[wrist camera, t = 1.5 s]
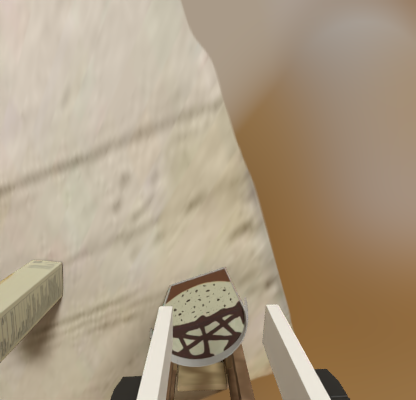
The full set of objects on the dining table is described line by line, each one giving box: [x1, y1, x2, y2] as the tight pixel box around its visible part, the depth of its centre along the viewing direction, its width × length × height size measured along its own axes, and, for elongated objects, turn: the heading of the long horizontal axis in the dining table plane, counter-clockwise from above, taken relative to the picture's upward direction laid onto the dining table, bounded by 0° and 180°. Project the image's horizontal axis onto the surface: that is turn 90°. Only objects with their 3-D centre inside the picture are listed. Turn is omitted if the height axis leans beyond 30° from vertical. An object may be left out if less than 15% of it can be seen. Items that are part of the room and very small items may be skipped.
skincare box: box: [0, 260, 63, 363], centre depth 25 cm, size 6×4×12 cm
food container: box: [150, 267, 248, 367], centre depth 28 cm, size 12×6×10 cm, turn 108°
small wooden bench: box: [166, 344, 255, 400], centre depth 29 cm, size 13×8×13 cm, turn 88°
